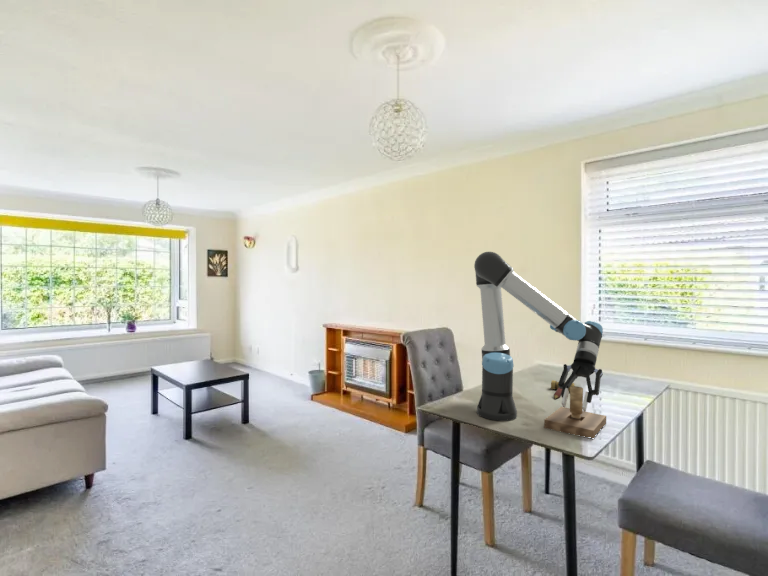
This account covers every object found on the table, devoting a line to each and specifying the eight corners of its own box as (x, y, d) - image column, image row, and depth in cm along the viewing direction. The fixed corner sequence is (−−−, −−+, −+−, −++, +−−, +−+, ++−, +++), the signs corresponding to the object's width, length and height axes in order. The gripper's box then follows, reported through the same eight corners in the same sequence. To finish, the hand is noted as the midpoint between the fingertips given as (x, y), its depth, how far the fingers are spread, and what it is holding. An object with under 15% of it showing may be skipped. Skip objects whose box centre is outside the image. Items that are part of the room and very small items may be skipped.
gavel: (567, 394, 177) (543, 391, 182) (567, 404, 177) (543, 400, 182) (574, 382, 194) (552, 379, 200) (574, 391, 194) (552, 388, 200)
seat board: (544, 427, 144) (544, 419, 144) (561, 414, 159) (561, 406, 159) (593, 439, 133) (593, 430, 133) (606, 423, 149) (606, 415, 149)
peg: (567, 425, 146) (568, 387, 146) (571, 422, 149) (572, 385, 149) (580, 428, 143) (581, 389, 143) (583, 425, 146) (584, 387, 146)
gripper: (615, 365, 151) (604, 418, 139) (562, 358, 164) (548, 407, 152) (612, 353, 147) (601, 407, 135) (558, 346, 160) (543, 396, 147)
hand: (573, 407), depth 143 cm, fingers open, 6 cm apart
